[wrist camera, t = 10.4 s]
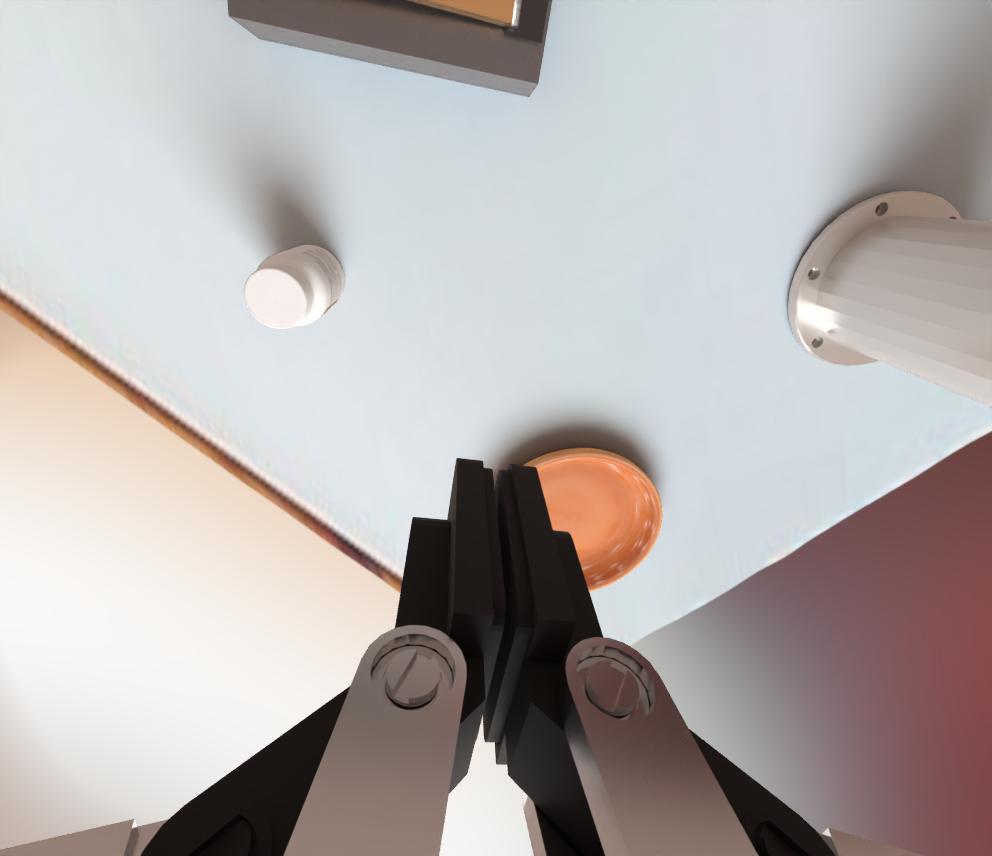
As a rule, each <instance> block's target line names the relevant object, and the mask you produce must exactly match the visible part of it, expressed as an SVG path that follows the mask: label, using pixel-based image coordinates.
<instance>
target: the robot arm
mask: <svg viewBox="0 0 992 856" xmlns="http://www.w3.org/2000/svg"><path fill="white" fill-rule="evenodd" d="M788 316H789V323H790V326H791V329H792V333H793V335H794V336H795V338H796V340H797V341H798V343H799V345H801V346H802V347H803V348H804V349H805V350H806V351H807V352H808V353H809V354H811V355H813V356H815V357H817V358H819V359H821V360H823V361H826V362H828V363H831V364H835V365H842V366H857V365H864V364H868V363H873V362H876V361H881V362H883V363H885V364H888V365H890V366H893V367H895V368H898V369H900V370H902V371H905V372H907V373H910V374H912V375H915V376H917V377H919V378H922V379H924V380H927V381H929V382H932V383H934V384H936V385H939V386H941V387H944V388H946V389H949V390H951V391H953V392H956V393H958V394H961V395H963V396H966V397H968V398H970V399H973V400H975V401H978V402H980V403H983V404H985V405H988V406H990V407H992V221H983V220H966V219H962V217H961V215H960V214H959V213H958V211H957V210H956V209H955V207H954V206H953V205H952V204H950V203H949V202H948V201H946V200H945V199H944V198H942V197H940V196H937V195H934V194H932V193H929V192H921V191H893V192H889V193H884V194H880V195H876V196H874V197H871V198H869V199H867V200H864V201H862V202H860V203H858V204H856V205H855V206H853V207H852V208H850V209H848V210H847V211H845V212H844V213H842V214H841V215H840V216H838V217H837V218H836V219H835V220H834V221H833V222H831V223H830V224H829V225H828V226H827V227H826V228H825V229H824V230H823V231H822V232H821V233H820V235H819V236H818V237H817V238H816V239H815V240H814V241H813V243H812V244H811V246H810V247H809V249H808V250H807V252H806V253H805V255H804V256H803V258H802V260H801V262H800V264H799V266H798V268H797V270H796V272H795V275H794V278H793V281H792V285H791V288H790V292H789V300H788ZM482 715H483V727H484V740H485V742H495V753H496V764H504V765H505V764H507V766H508V775H509V776H510V777H511V778H512V779H513V780H514V782H515V783H516V784H517V785H518V786H519V787H520V788H521V789H522V790H523V792H522V796H523V808H524V813H525V817H526V822H527V826H528V831H529V835H530V840H531V844H532V849H533V853H534V856H923V855H920V854H916V853H913V852H909V851H906V850H903V849H899V848H896V847H892V846H889V845H886V844H882V843H878V842H875V841H871V840H869V839H865V838H862V837H858V836H855V835H851V834H848V833H845V832H841V831H838V830H834V829H831V828H827V829H826V830H825V831H824V832H823V833H822V834H820V833H818V832H817V831H816V830H815V829H814V828H812V827H811V826H810V825H809V824H808V823H807V822H806V821H805V820H804V819H803V818H802V817H800V815H798V814H797V813H796V812H795V811H793V810H792V809H791V808H789V807H788V806H787V805H786V804H784V803H783V802H782V801H780V800H779V799H778V798H777V797H775V796H774V795H773V794H771V793H770V792H769V791H768V790H766V789H765V788H764V787H763V786H761V785H760V784H759V783H757V782H756V781H755V780H754V779H752V778H751V777H750V776H749V775H747V774H746V773H745V772H743V771H742V770H741V769H740V768H738V767H737V766H736V765H734V764H733V763H732V762H731V761H729V760H728V759H727V758H725V757H724V756H723V755H722V754H720V753H719V752H718V751H717V750H715V749H714V748H713V747H711V746H710V745H709V744H708V743H706V742H705V741H704V740H702V739H701V738H700V737H698V736H697V735H696V734H695V733H694V732H692V731H691V730H690V729H688V727H687V725H686V723H685V721H684V720H683V718H682V716H681V714H680V712H679V711H678V709H677V707H676V705H675V703H674V702H673V700H672V698H671V696H670V694H669V692H668V691H667V689H666V687H665V685H664V683H663V681H662V680H661V678H660V676H659V675H658V673H657V672H656V671H655V669H654V668H653V666H652V665H651V663H650V662H649V661H648V660H647V659H646V658H644V657H643V656H642V655H641V654H640V653H639V652H638V651H636V650H635V649H633V648H631V647H630V646H628V645H626V644H625V643H623V642H620V641H617V640H614V639H611V638H603V635H602V632H601V629H600V625H599V622H598V619H597V616H596V612H595V609H594V606H593V603H592V600H591V596H590V593H589V590H588V587H587V583H586V580H585V577H584V574H583V571H582V567H581V564H580V561H579V558H578V554H577V551H576V548H575V545H574V542H573V539H572V536H571V534H570V533H569V532H566V531H556V530H553V528H552V525H551V521H550V517H549V513H548V509H547V505H546V501H545V498H544V494H543V490H542V486H541V482H540V478H539V475H538V471H537V468H536V467H532V466H523V465H514V464H510V465H509V467H508V471H507V470H499V472H498V476H497V481H496V486H495V490H494V480H493V471H492V469H489V468H484V467H483V461H479V460H470V459H461V458H457V460H456V465H455V472H454V478H453V485H452V492H451V499H450V505H449V512H448V519H447V520H440V519H430V518H419V517H413V519H412V524H411V531H410V537H409V543H408V550H407V556H406V562H405V568H404V575H403V581H402V587H401V594H400V600H399V606H398V613H397V619H396V625H395V628H394V629H392V630H390V631H388V632H386V633H384V634H382V635H381V636H379V637H378V638H377V639H376V640H375V641H374V642H373V643H372V644H371V645H370V646H369V647H368V649H367V651H366V652H365V654H364V656H363V657H362V659H361V661H360V664H359V666H358V669H357V672H356V674H355V677H354V679H353V682H352V684H351V686H350V687H348V688H347V689H345V690H344V691H343V692H341V693H340V694H338V695H337V696H336V697H334V698H333V699H332V700H330V701H329V702H327V703H326V704H325V705H323V706H322V707H320V708H319V709H318V710H316V711H315V712H313V713H312V714H311V715H309V716H308V717H307V718H305V719H304V720H302V721H301V722H300V723H298V724H297V725H295V726H294V727H293V728H291V729H290V730H289V731H287V732H286V733H284V734H283V735H282V736H280V737H279V738H277V739H276V740H275V741H274V742H272V743H271V744H269V745H268V746H266V747H265V748H263V749H262V750H261V751H259V752H258V753H257V754H255V755H254V756H252V757H251V758H250V759H248V760H247V761H245V762H244V763H243V764H241V765H240V766H238V767H237V768H236V769H234V770H233V771H232V772H230V773H229V774H227V775H226V776H225V777H223V778H222V779H221V780H219V781H218V782H217V783H215V784H214V785H212V786H211V787H209V788H208V789H207V790H205V791H204V792H202V793H201V794H200V795H198V796H197V797H196V798H194V799H193V800H191V801H190V802H189V803H187V804H186V805H184V806H183V807H182V808H181V809H180V810H179V811H178V812H177V813H175V815H173V816H172V817H171V818H170V819H169V820H165V821H160V822H156V823H152V824H148V825H143V826H139V827H137V825H136V822H135V820H134V819H133V820H129V821H124V822H120V823H115V824H111V825H106V826H102V827H98V828H93V829H89V830H85V831H81V832H76V833H72V834H67V835H63V836H59V837H54V838H50V839H46V840H41V841H37V842H33V843H28V844H24V845H20V846H15V847H11V848H6V849H2V850H0V856H439V851H440V845H441V838H442V833H443V826H444V820H445V813H446V807H447V801H448V794H449V793H450V792H451V791H452V790H453V789H454V788H455V787H456V786H457V784H458V783H459V782H460V781H461V780H462V779H463V778H464V777H465V776H466V775H467V773H468V769H469V765H470V760H471V757H472V753H473V748H474V744H475V741H476V739H477V735H478V731H479V727H480V723H481V719H482Z"/></svg>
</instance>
